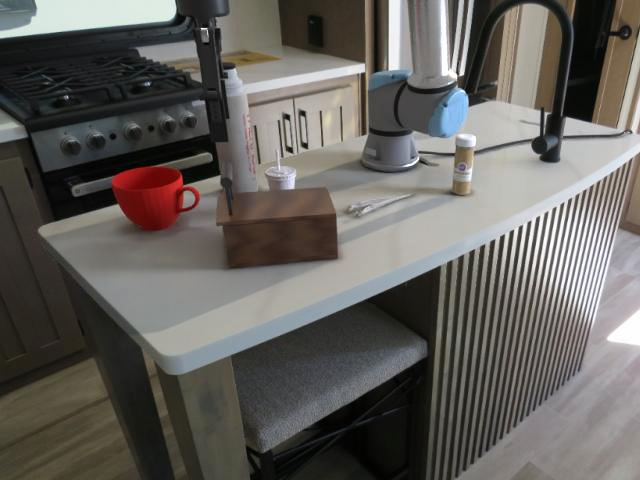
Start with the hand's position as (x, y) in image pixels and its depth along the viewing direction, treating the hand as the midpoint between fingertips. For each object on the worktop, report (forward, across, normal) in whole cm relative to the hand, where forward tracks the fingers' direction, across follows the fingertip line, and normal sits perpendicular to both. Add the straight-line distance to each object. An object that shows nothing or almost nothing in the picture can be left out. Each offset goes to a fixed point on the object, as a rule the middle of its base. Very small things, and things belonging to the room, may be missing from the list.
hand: (220, 129), depth 95 cm
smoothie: (+23, -15, +10) cm, 29 cm away
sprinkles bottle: (+23, -20, +52) cm, 60 cm away
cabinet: (+23, +1, +8) cm, 24 cm away
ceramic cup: (+23, -14, -14) cm, 30 cm away
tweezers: (+23, -16, +32) cm, 42 cm away
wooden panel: (+14, +1, +8) cm, 16 cm away
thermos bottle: (+23, -30, +1) cm, 38 cm away
